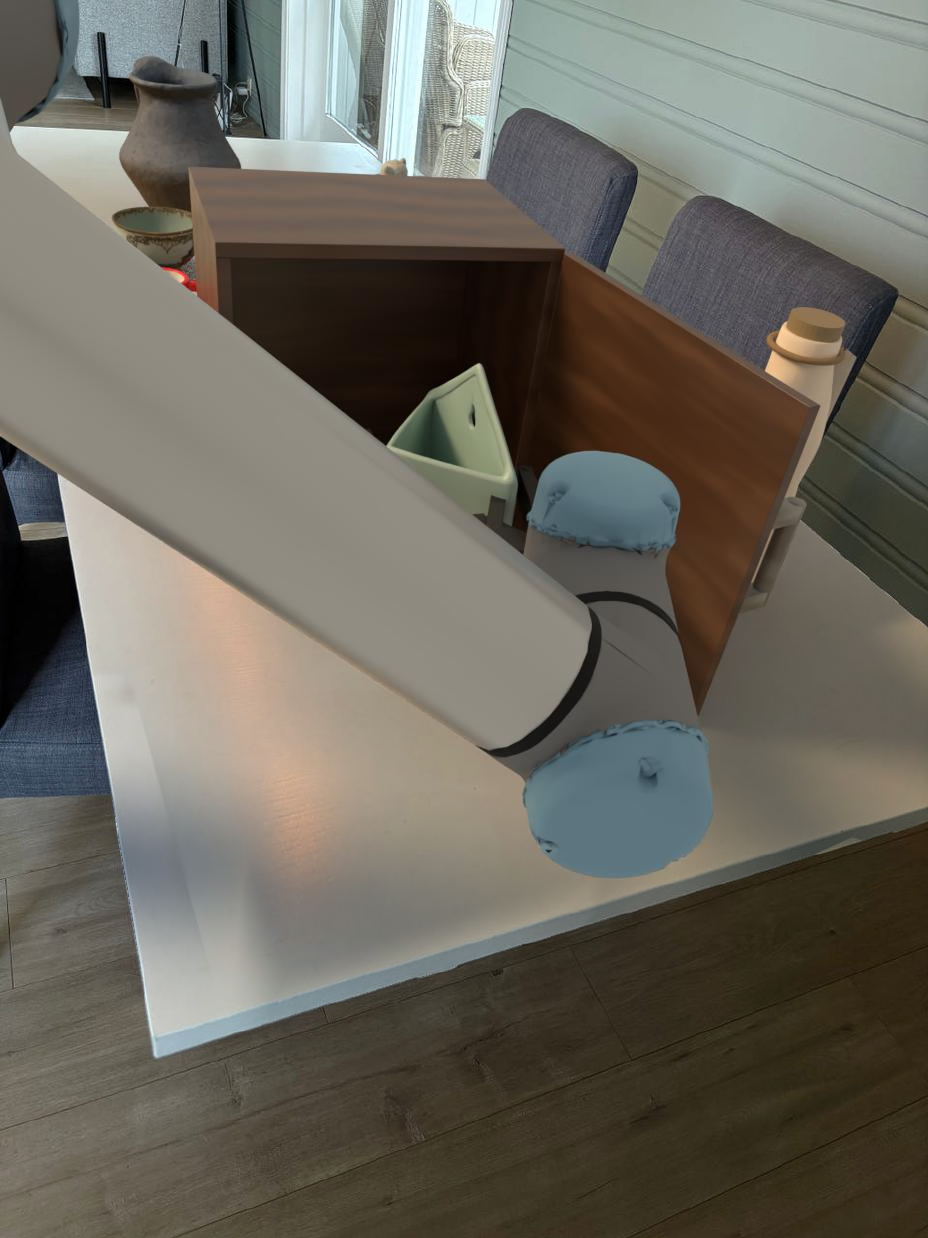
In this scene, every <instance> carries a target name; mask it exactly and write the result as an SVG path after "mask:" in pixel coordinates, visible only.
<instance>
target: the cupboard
mask: <svg viewBox="0 0 928 1238" xmlns="http://www.w3.org/2000/svg"><path fill="white" fill-rule="evenodd" d="M189 179H190V181H189V182H190V197H191V212H192V227H193V242H194V257H193V258H194V269H195V271H194V272H195V281H196V287H197V292H196V296H198V297H199V298H200V299H201V300H203V301H204V302H205V303H206V304H208V305H209V306H210V307H211V308H213V309H214V310H215V311H216V312H218V313H219V314H220V315H222V316H223V317H224V318H225V319H227V320H228V321H229V322H230V323H232V324H233V325H234V326H235V327H237V328H238V329H239V330H240V331H242V332H243V333H244V334H245V335H247V336H248V337H249V338H250V339H252V340H253V341H254V342H256V343H257V344H258V345H259V346H261V347H262V348H263V349H264V350H266V351H267V352H268V353H269V354H271V355H272V356H273V357H274V358H276V359H277V360H278V361H279V362H281V363H282V364H283V365H284V366H286V367H287V368H288V369H290V370H291V371H292V372H293V373H295V374H296V375H297V376H298V377H300V378H301V379H302V380H303V381H305V382H306V383H307V384H308V385H310V386H311V387H312V388H313V389H315V390H316V391H317V392H318V393H320V394H321V395H322V396H324V397H325V398H326V399H327V400H329V401H330V402H331V403H332V404H334V405H335V406H336V407H337V408H339V409H340V410H341V411H342V412H344V413H345V414H346V415H347V416H349V417H350V418H351V419H352V420H354V421H355V422H356V423H358V424H359V425H360V426H361V427H363V428H364V429H370V430H371V432H372V434H373V436H374V437H375V438H376V439H378V440H379V441H380V442H381V443H383V444H384V445H385V446H387V444H388V443H389V441H390V440H391V438H392V437H393V435H394V434H395V433H396V431H397V430H398V429H399V428H400V427H401V425H402V424H403V423H404V422H405V421H406V419H407V418H408V417H409V416H410V415H411V414H412V413H413V411H414V410H415V409H416V408H417V407H418V406H419V405H420V403H421V402H422V401H423V400H424V398H425V397H426V395H427V394H428V392H429V391H431V390H432V389H435V388H437V387H439V386H441V385H443V384H445V383H447V382H448V381H450V380H452V379H454V378H455V377H457V376H459V375H461V374H462V373H464V372H465V371H467V370H469V369H470V368H471V367H473V366H475V365H476V364H481V365H482V366H483V368H484V371H485V375H486V378H487V382H488V385H489V388H490V392H491V395H492V398H493V402H494V405H495V408H496V411H497V415H498V418H499V421H500V424H501V427H502V430H503V433H504V437H505V440H506V443H507V446H508V450H509V453H510V457H511V460H512V464H513V467H514V469H517V470H518V469H519V466H521V465H526V462H527V456H528V451H529V445H530V440H531V434H532V429H533V423H534V418H535V412H536V407H537V401H538V396H539V390H540V385H541V379H542V374H543V368H544V363H545V357H546V352H547V346H548V341H549V335H550V330H551V324H552V319H553V313H554V308H555V302H556V297H557V291H558V286H559V280H560V275H561V269H562V264H563V258H564V254H566V248H565V247H564V246H563V245H562V244H560V243H559V242H558V241H557V240H556V239H555V238H554V237H552V236H551V235H550V234H549V233H548V232H546V231H545V230H544V229H543V228H542V227H541V226H539V224H537V223H536V222H535V221H534V220H533V219H532V218H530V217H529V216H528V215H527V214H526V213H525V212H523V211H522V210H521V209H520V208H519V207H517V206H516V205H515V204H514V203H513V202H512V201H511V200H510V199H508V198H507V197H506V196H505V195H504V194H503V193H501V192H500V191H499V190H498V189H497V188H496V187H494V186H493V185H492V184H491V183H490V182H488V181H487V180H486V179H485V178H466V177H465V178H463V177H439V176H419V175H418V176H417V175H416V176H415V175H407V176H397V175H374V174H372V173H371V174H370V173H350V172H349V173H347V172H346V173H345V172H324V171H301V170H299V171H298V170H278V169H277V170H276V169H255V168H253V169H252V168H250V169H249V168H241V169H234V168H211V167H189ZM472 421H473V425H474V427H475V423H476V422H475V410H474V412H473V414H472ZM517 511H518V503H517V500H516V503H515V510H514V516H513V522H512V527H514V528H515V522H516V517H517Z"/></svg>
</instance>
